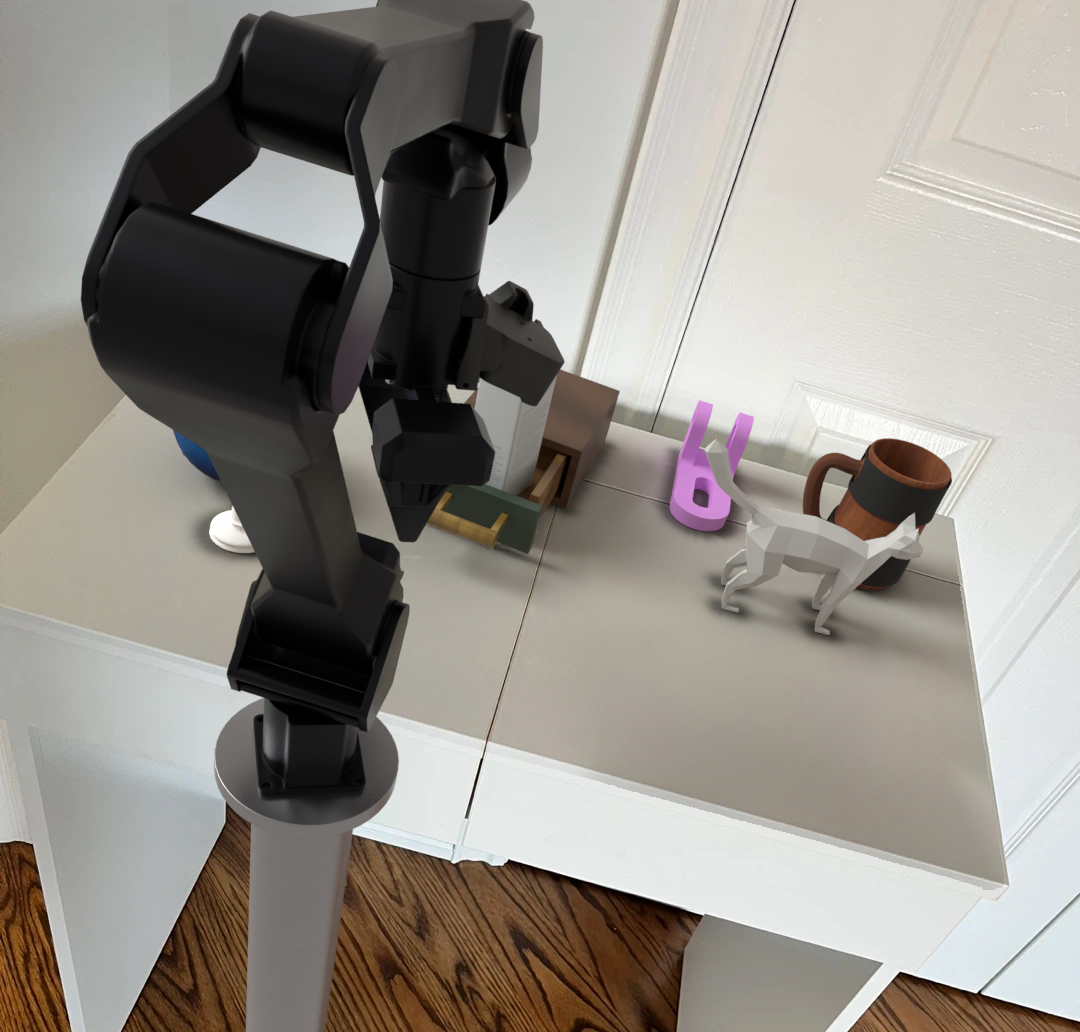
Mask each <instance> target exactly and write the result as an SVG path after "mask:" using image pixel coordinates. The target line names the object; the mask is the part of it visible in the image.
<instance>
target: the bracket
mask: <svg viewBox="0 0 1080 1032" xmlns="http://www.w3.org/2000/svg"><path fill="white" fill-rule="evenodd" d="M713 409H714V404H713V403H710V402H707V401H703V400H700V399H699V400H698V402H697V403H696V406H695V409H694V411H693V414H692V417H691V419H690V423H689V426H688V428H687V431H686V434H685V437H684V440H683V442H682V446H681V448H680V450H679V454H678V458H677V464H676V469H675V474H674V480H673V484H672V490H671V496H670V501H669V506H668V507H669V511H670V512H669V513H670V514H671V515H672V517H674V519H675V520H676V521H677V522H679V523H681V524H682V525H683V526H685V527H688V528H690V529H694V530H697V531H701V532H715V531H716V532H717V531H719V530H721V529H723V527H724V526H725V524H726V521H727V519H728V516H729V513H730V511H731V502H732V499H731V498H730V497H729V496H728V495H727V494H726V493H725V492H724V491H723V490H722V489H721V488H720V487H719V486H718V485H717V483H716V480H715V478H714V475H713V472H712V470H711V467H710V464H709V461H708V459H707V456H706V453H705V450H704V449H705V448H704V449H703V448H701V445H702V442H703V439H704V437H705V434H706V431H707V428H708V425H709V423H710V421H711V420H710V419H711V415H712V412H713ZM754 419H755V416H752V415H749V414H747V413H743V412H739V413H738V414H737V416H736V418H735V421H734V423H733V425H732V427H731V431H730V433H729V436H728V438H727V441H726V443H725V445H724V446H725V447H726V448H727V449H728V456H729V463H730V468H731V474H732V479H733V480H734V476H735V474H736V471H737V469H738V465H739V463H740V461H741V458H742V456H743V453H744V451H745V449H746V446H747V443H748V441H749V438H750V435H751V432H752V429H753V425H754V421H755V420H754ZM695 490H700V491H702V492H705V494H707V496H708V502H707V506H706V507H703V506H700V505H698V504H696V503H695V502H694V500H693V498H694V493H695Z"/></svg>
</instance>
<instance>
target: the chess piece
mask: <svg viewBox="0 0 1080 1032" xmlns="http://www.w3.org/2000/svg"><path fill="white" fill-rule="evenodd" d="M231 505H232V504H231ZM209 537H210V539H211V541H212V542H213V543H214V544H215V545H216V546H217V547H219V548H221V549H223V550H225V551H228V552H232V553H237V554H253V553H255V551H254V549H253V547H252V545H251V543H250V541H249V539H248V537H247V535H246V532H245V530H244V528H243V526H242V524H241V522H240V520H239V518H238V516H237V514H236V512H235V510H234V508H233V505H232V506H231V509H229V510H225V511H223V512H220V513H218V514H217V515H215V516H214V517H213V518H212V520H211V522H210V525H209Z"/></svg>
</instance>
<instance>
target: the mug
mask: <svg viewBox="0 0 1080 1032" xmlns="http://www.w3.org/2000/svg"><path fill="white" fill-rule="evenodd" d="M830 469H836V470H838V471H841V472H842V473H845V474H848V475H851V477H850V479H849V482H848V485H847V489H846V490H845V493H844V495H843V497H842V498H841V500H840V502H839V504H837V505H836V506H835V507H834V508H833V509H832V511H831V512H830V514H829V515H828V517H827V518H826V519H825V518H823V517H822V515H821V510H820V504H821V493H822V489H823V485H824V482H825V479H826V476H827V473H828V472H829V470H830ZM952 477H953V476H952V471H951V469H950V467H949V466H948V465H947V463H946V462H945V461H944V460H943V459H942V458H940V457H939V456H938V455H937V454H935V453H934V452H932V451H930V450H929V449H927V448H925V447H924V446H921V445H919V444H917V443H913V442H910V441H907V440H904V439H899V438H891V437H887V438H886V437H885V438H878V439H876V440H874V441H873V442H872V443H871V444H869V445H868V446H867V447H866V449H865V451H864V453H863V454H862V456H861V458H860V459H857V458H854V457H851V456H849V455H847V454H844V453H841V452H830V453H825V454H824V455H821V456H820V457H819V458H818V459H817V460H816V461H815V463H814V464H813V465H812V467H811V469H810V471H809V473H808V475H807V478H806V480H805V481H806V482H805V486H804V490H803V496H802V514H805V515H811V516H816V517H819V518H821V519H823V520H826V521H828V522H830V523H833V524H835V525H837V526H840V527H842V528H844V529H846V530H848V531H849V532H851V533H852V534H854V535H855V536H857V537H858V538H860V539H862V540H863V541H867V540H871V539H876V538H881V537H886V536H888V535H889V534H890V533H892V532H893V531H894V530H896V529H897V527H898V526H899V525H900V524H901V523H902V522H903V521H904V520H905V519H907V518H908V517H909V516H910V515H912V514H913V513H915V528H916V529H918V528H919V531H918V533H919V538H920V536H921V535H922V533H923V531H924V529H925V527H926V526H927V525H928V524H929V523H931V522H932V521H933V519H934V517H935V514H936V513H937V510H938V509H939V507H940V506H941V503H942V501H943V499H944V498H945V496H946V494H947V493H948V490H949V489H950V487H951V485H952V483H953V478H952ZM911 561H912V559H908V560H905V559H898V558H895V557H893V556H891V557H890V558H889V559H887V560H886V561H885V562H884V563H883V564H882V565H881V566H880V567H879V568H878V569H877V570H875V571H874V572H873V573H872V574H871V575H870V576H869V577H867V578H866V579H865V580H864V581H863V582H862V583H861V584H860V585H858V586H857V587H856V588H855V589H858V590H863V591H868V592H869V591H871V592H872V591H874V592H876V591H883V590H885V589H887V588H889V587H891V586H894V585H895V584H898V582H899V581H900V579H902V576H904V573H905V572H906V570H907V568H908V566H909V564H910V562H911Z"/></svg>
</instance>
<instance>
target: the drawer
mask: <svg viewBox="0 0 1080 1032" xmlns="http://www.w3.org/2000/svg"><path fill="white" fill-rule="evenodd" d="M569 459H570V455H567V454H564V453H562V452H559V451H556V450H554V449H551V448H548V447H545V446H543V445H541V446H540V451H539V455H538V459H537V464H536V468H535V472H534V477H533V481H532V484H531V485H530V486H529V487H527V488H526V489H525V490H524V491H523V492H521V493H520V494H519V495H518V496H516V495H513V494H510V493H508V492H505V491H502V490H500V489H497V488H494V487H492V486H489V485H486V484H484V485H483V486H468V485H453V486H451V487H450V488H449V489H448V490H447V491H446V492H445V494H444V495H443V497H442V498H441V500H440V501H439V503H438V505H437V506H436V508H435V510H434V511H433V513H432V515H431V517H430V518H429V520H428V522H427V524H426V525H429V526H432V527H435V528H437V529H440V530H443V531H445V532H447V533H451V534H453V535H454V536H455V535H456V536H457V537H461V538H463V539H466V540H469V541H472V542H474V543H476V544H480V545H482V546H485V547H486V548H489V549H495V547H496V544H499V545H502V546H505V547H508V548H510V549H513V550H516V551H518V552H521V553H523V554H526V555H529V554H530V552H531V550H532V549H533V546H534V542H535V538H536V535H537V531H538V527H539V523H540V520H541V518H542V516H543V514H544V513H545V511H546V510H547V508H548V506H549V505H550V504H551V503H550V502H551V500H552V498H553V497H554V495H555V494H556V492H557V490H558V489H559V487H560V486H561V484H562V482H563V481H564V477H565V473H566V470H567V466H568V462H569Z"/></svg>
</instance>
